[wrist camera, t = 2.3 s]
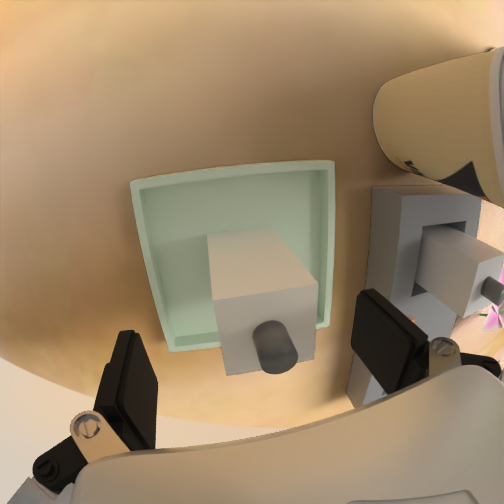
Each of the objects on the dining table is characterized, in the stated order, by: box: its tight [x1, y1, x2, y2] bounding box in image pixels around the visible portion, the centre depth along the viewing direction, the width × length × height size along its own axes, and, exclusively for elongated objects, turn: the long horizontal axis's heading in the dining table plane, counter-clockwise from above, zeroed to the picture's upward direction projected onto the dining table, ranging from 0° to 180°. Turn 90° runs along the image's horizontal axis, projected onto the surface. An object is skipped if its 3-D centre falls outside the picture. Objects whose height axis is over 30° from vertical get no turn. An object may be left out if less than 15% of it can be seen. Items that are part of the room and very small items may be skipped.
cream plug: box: [207, 226, 318, 376], centre depth 14 cm, size 4×4×10 cm
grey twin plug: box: [414, 224, 504, 319], centre depth 16 cm, size 4×4×10 cm
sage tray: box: [129, 160, 335, 353], centre depth 18 cm, size 12×12×2 cm
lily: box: [480, 266, 504, 331], centre depth 24 cm, size 12×12×10 cm
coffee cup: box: [373, 47, 504, 208], centre depth 12 cm, size 9×9×12 cm
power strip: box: [346, 185, 482, 408], centre depth 21 cm, size 22×10×4 cm, turn 4°
